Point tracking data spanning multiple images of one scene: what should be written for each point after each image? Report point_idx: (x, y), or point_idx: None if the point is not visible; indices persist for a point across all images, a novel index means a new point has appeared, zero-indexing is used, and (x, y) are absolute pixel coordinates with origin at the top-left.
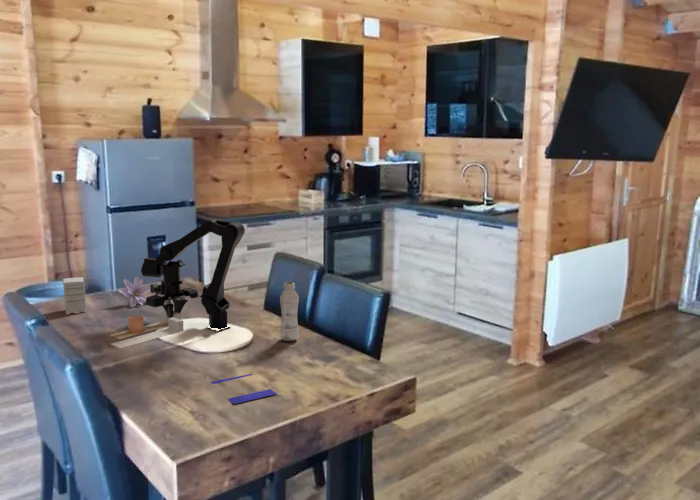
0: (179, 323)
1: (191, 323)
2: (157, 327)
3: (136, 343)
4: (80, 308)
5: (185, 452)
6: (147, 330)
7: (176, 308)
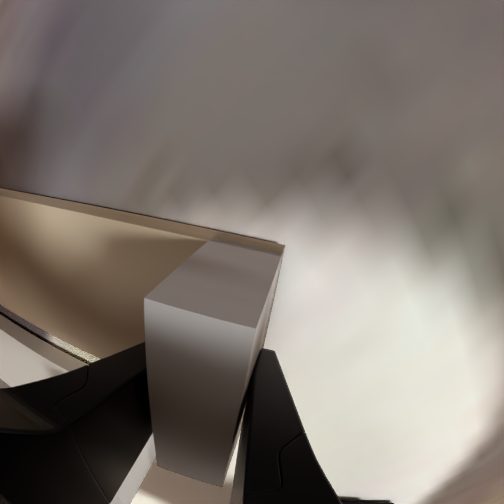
0: None
1: (353, 413)
2: (52, 312)
3: None
4: None
5: None
6: (2, 292)
7: (237, 483)
